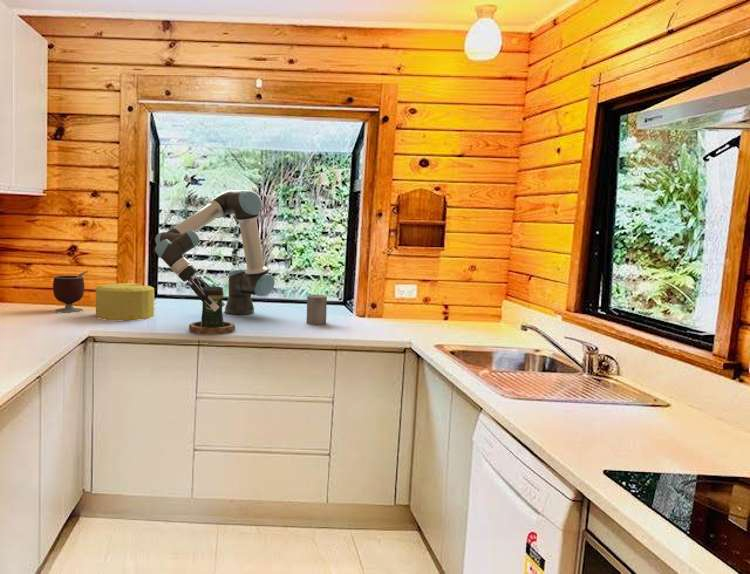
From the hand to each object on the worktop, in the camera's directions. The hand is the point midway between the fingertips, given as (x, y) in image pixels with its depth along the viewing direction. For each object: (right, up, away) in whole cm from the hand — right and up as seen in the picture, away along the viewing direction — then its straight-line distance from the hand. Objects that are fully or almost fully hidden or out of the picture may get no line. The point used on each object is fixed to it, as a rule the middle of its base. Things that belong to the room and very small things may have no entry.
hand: (220, 307), depth 264 cm
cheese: (-53, -5, +26) cm, 59 cm away
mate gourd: (-83, -3, +34) cm, 90 cm away
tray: (-4, -10, +1) cm, 11 cm away
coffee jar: (-4, -9, +1) cm, 10 cm away
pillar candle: (+39, -9, +31) cm, 51 cm away
